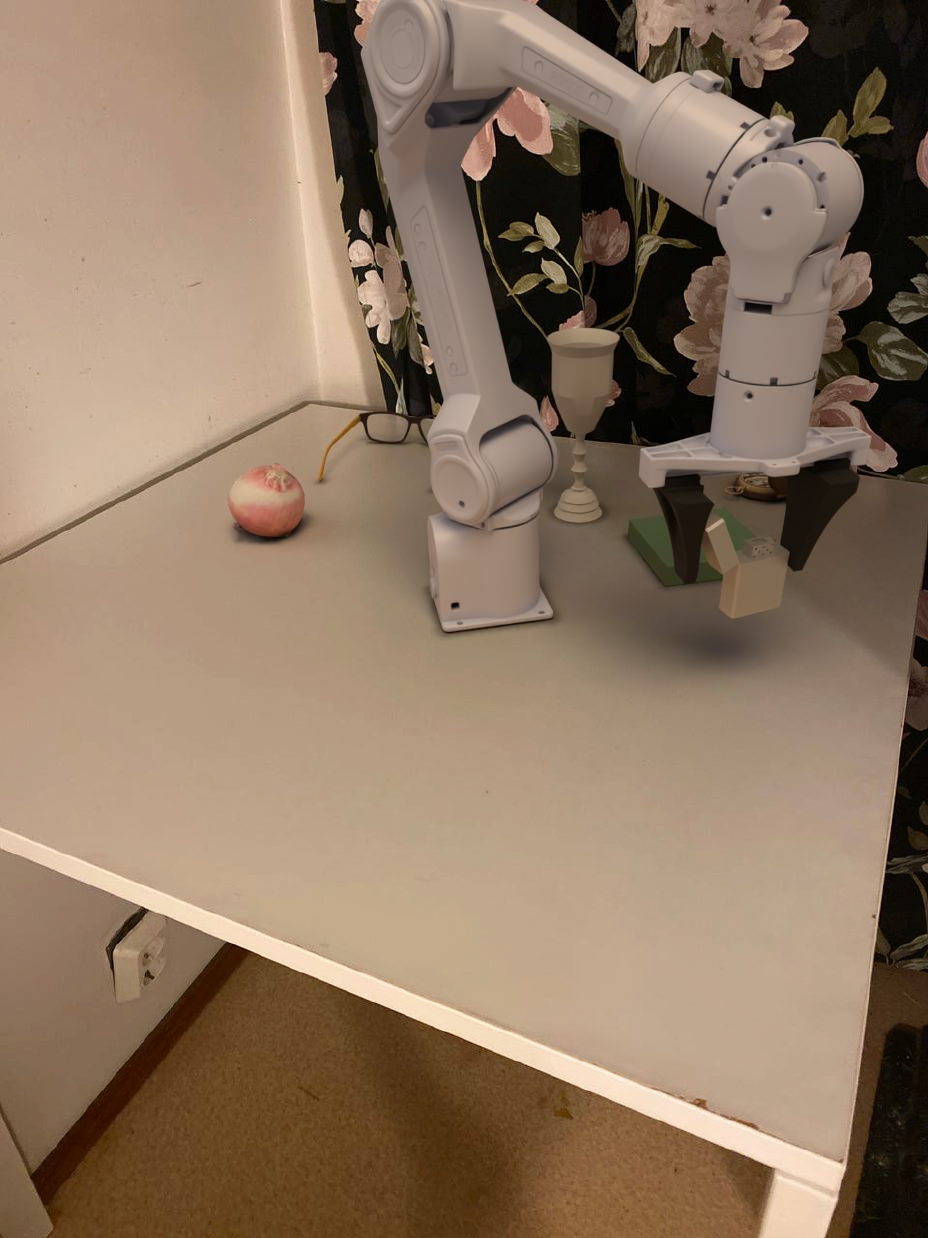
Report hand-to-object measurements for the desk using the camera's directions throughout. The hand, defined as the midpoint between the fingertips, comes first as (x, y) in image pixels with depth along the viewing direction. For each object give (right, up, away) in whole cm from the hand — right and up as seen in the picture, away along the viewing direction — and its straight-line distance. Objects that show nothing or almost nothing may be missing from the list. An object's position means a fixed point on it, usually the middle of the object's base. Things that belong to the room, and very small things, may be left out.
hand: (737, 570), depth 59 cm
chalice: (-7, +8, +32) cm, 34 cm away
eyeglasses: (-27, +15, +46) cm, 55 cm away
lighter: (0, -3, +2) cm, 3 cm away
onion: (-39, +6, +31) cm, 50 cm away
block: (+3, +3, +23) cm, 23 cm away
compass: (+13, +10, +34) cm, 37 cm away
